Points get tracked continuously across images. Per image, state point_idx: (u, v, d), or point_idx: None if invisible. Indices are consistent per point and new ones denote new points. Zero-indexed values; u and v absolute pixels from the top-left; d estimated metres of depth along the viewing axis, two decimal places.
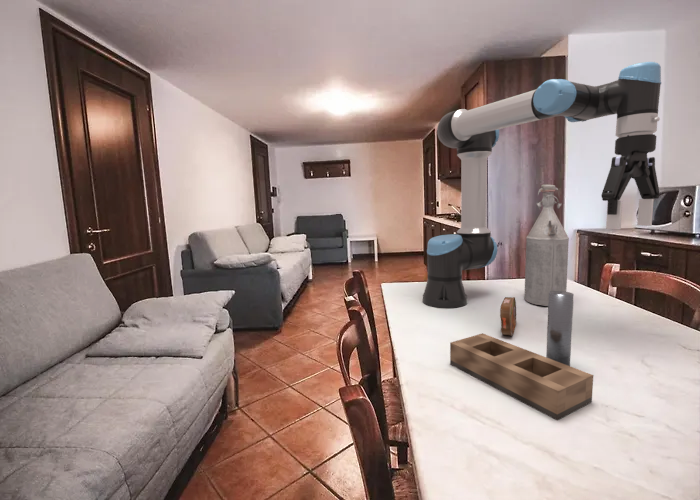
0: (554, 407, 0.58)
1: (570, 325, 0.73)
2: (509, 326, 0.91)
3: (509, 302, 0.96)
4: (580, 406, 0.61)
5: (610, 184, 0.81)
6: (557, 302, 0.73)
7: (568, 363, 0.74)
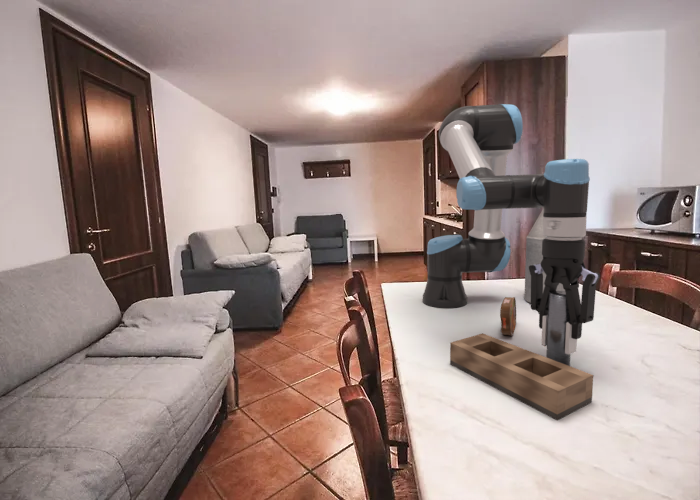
0: (554, 407, 0.58)
1: None
2: (509, 326, 0.91)
3: (509, 302, 0.96)
4: (580, 406, 0.61)
5: None
6: (557, 302, 0.73)
7: (568, 363, 0.74)
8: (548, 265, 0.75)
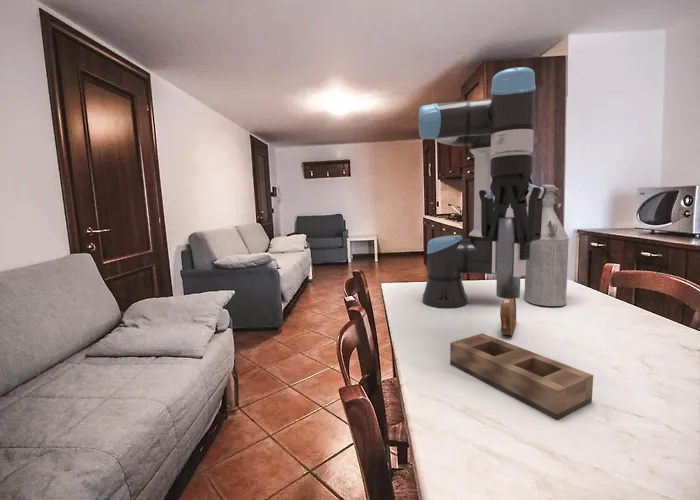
0: (554, 407, 0.58)
1: None
2: (509, 326, 0.91)
3: (509, 302, 0.96)
4: (580, 406, 0.61)
5: None
6: (505, 225, 0.70)
7: (517, 290, 0.71)
8: (497, 186, 0.72)
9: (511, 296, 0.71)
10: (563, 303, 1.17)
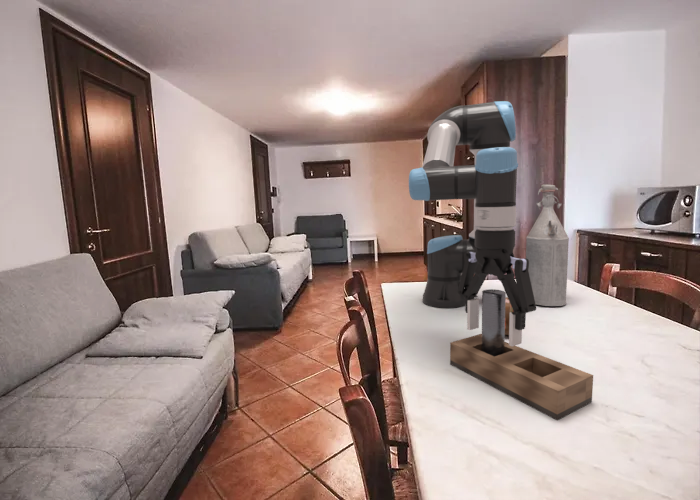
0: (554, 407, 0.58)
1: (502, 324, 0.72)
2: None
3: (509, 302, 0.96)
4: (580, 406, 0.61)
5: None
6: (488, 301, 0.72)
7: None
8: (481, 257, 0.74)
9: None
10: (563, 303, 1.17)
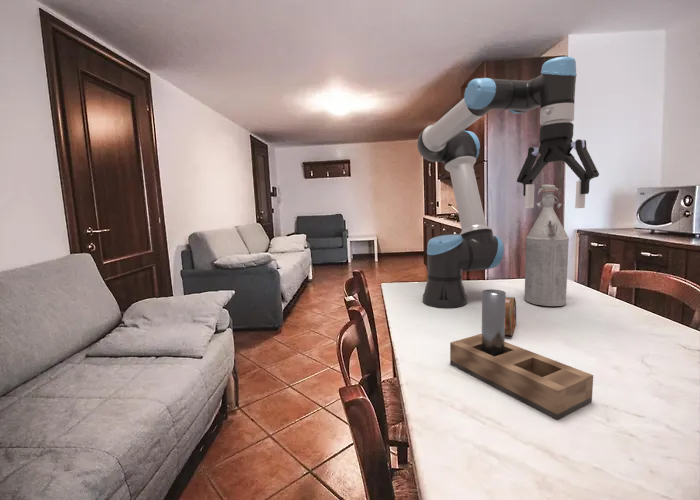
0: (554, 407, 0.58)
1: (502, 324, 0.72)
2: (509, 326, 0.91)
3: (509, 302, 0.96)
4: (580, 406, 0.61)
5: None
6: (488, 301, 0.72)
7: None
8: None
9: None
10: (563, 303, 1.17)
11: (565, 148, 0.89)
